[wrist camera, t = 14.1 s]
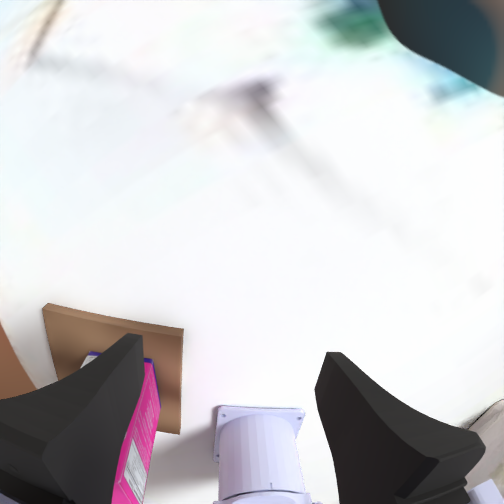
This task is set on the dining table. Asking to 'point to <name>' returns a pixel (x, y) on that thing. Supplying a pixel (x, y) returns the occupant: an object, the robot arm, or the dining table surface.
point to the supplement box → (137, 440)
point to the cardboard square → (105, 335)
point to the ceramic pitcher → (490, 449)
